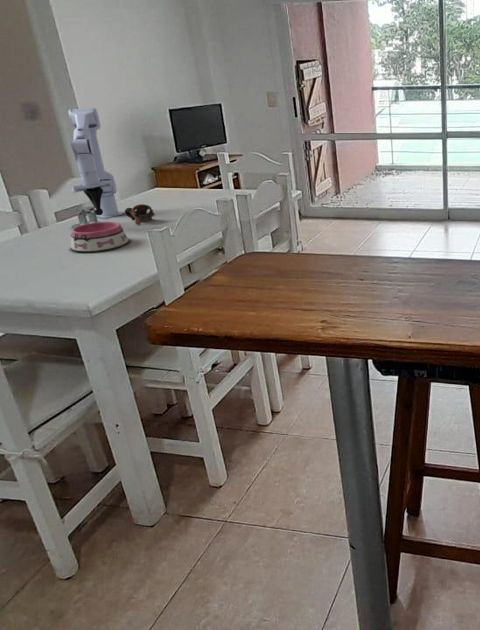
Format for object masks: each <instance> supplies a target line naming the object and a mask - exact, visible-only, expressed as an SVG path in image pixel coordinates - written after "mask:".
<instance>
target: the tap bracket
mask: <svg viewBox="0 0 480 630" xmlns="http://www.w3.org/2000/svg"><path fill="white" fill-rule="evenodd" d="M84 209H90V211H93V210H95V208H94V206H90V205H87V206H85V208H80V207H76V208H75V211H76V214H77V219H78V222H79V223H75V224H72V225H71V228H72V229H73V228H75V227H77V226H80V225H84V224H89V223H96V222H100V221H99V220H98V217H97V216H96V214H95V213H92V214H91V215H88V216H86V215H85V211H84ZM87 217H88V219H87Z"/></svg>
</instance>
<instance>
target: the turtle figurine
mask: <svg viewBox="0 0 480 630" xmlns="http://www.w3.org/2000/svg"><path fill="white" fill-rule="evenodd" d="M124 214H125V215H126V216H127V218H129V219H131V221H134V222H135V225H137V226H140V225H141V223H144V222H147V221H150V220H153V217H154V216H156V214H155V213H154V210H153V208H152V207H151V206H150V205H148V204H144V203H143V204H142V203H139V204H136V205H134V206H133V207H127V208H125V210H124Z"/></svg>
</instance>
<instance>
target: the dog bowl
mask: <svg viewBox="0 0 480 630" xmlns="http://www.w3.org/2000/svg"><path fill="white" fill-rule="evenodd" d="M129 243H130V240H129V238H128V236H127V235H126V233H125V230H124V228H123V226H122V225H121V224H120V223H119V222H116V221H99V222H96V223H89V224H84V225H80V226H77V227H75V228H72V229H71V234H70V250H71V251H73V252H76V253H83V254H84V253H87V254H88V253H101V252H107V251H111V250H115V249H119V248H123V247H124V246H126V245H128V244H129Z"/></svg>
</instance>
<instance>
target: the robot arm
mask: <svg viewBox="0 0 480 630" xmlns="http://www.w3.org/2000/svg"><path fill="white" fill-rule="evenodd" d="M68 117H69V121H70V124H71V125H72V127H73V128H74V130H73V136H72V138H73V139H72V141H70V147H71V151H72V154H73V156H74V160H75V161H76V163H77V167H78V171H79V175H80V179H81V182H82V184H78V185H75V186H70V189H71V193H79V192H83V193H84V194H85V195H86V197H87V198H88V199H89V201H90V202H91V204H92V207H94V209H96V208H101V209H102V210H103V214H102V215H100V216H98V215H96V217H97V218H102V219H108V218H109V219H110V218H113V217H118V216H122V215H124V213H123V212H119V209H118V204H117V200H116V197H115V194H116V193H117V192H118V188H117V184H116V180H115V177H114V175H113V174H112V173H110V172H108V171H107V170H105V167H104V161H103V158H102V153H101V150H100V145H99V141H98V136H97V131H98V130H100V129H101V121H100V116H99V112H98V110H97V108H95V107H90V108H89V107H88V108H69V110H68Z"/></svg>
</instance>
